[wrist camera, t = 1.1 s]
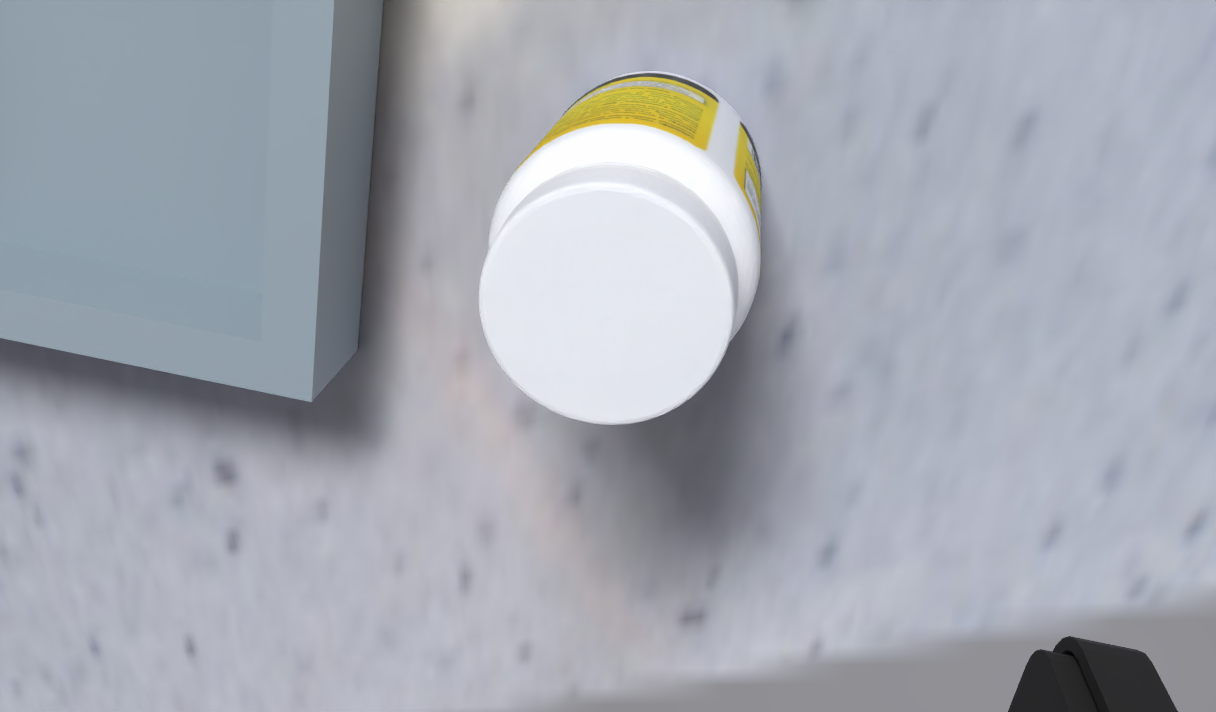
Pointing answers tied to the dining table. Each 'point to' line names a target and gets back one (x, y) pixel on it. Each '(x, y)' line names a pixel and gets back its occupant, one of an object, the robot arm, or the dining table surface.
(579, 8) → the dining table surface
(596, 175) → the supplement bottle
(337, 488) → the dining table surface
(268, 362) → the tray
